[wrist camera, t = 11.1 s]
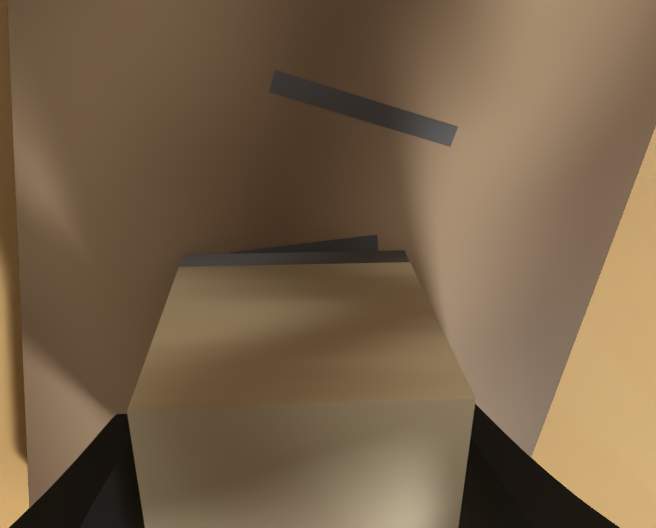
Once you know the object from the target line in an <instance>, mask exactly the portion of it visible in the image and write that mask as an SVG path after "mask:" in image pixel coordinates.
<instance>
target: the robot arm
mask: <svg viewBox="0 0 656 528" xmlns="http://www.w3.org/2000/svg"><path fill="white" fill-rule="evenodd" d="M9 528H145V526H144V519H143V513H142V506H141V500H140V493H139V487H138V480H137V474H136V467H135V461H134V454H133V448H132V441H131V435H130V428H129V422H128V415H127V414H116V415H115V416H114V417H113V418H112V419H111V420H110V421H109V422H108V423H107V425H106V426H105V427H104V428H103V429H102V430H101V431H100V433H99V434H98V435H97V436H96V437H95V438H94V440H93V441H92V442H91V443H90V444H89V445H88V447H87V448H86V449H85V450H84V451H83V452H82V453H81V454H80V456H79V457H78V458H77V459H76V460H75V461H74V462H73V463H72V464H71V466H70V467H69V468H68V469H67V470H66V471H65V472H64V473H63V474H62V475H61V476H60V477H59V479H58V480H57V481H56V482H55V483H54V484H53V485H52V486H51V487H50V488H49V489H48V490H47V491H46V492H45V493H44V494H43V495H42V496H41V497H40V498H39V499H38V500H37V501H36V502H35V503H34V504H33V505H32V506H31V507H30V508H29V509H28V510H27V511H26V512H25V513H24V514H23V515H22V516H21V517H20V518H19V519H18V520H17V521H16V522H15V523H13V524H12V525H11V526H10V527H9ZM458 528H619V527H618V526H617V525H615V524H614V523H612V522H611V521H609V520H608V519H607V518H605V517H604V516H602V515H601V514H600V513H598V512H597V511H595V510H594V509H593V508H591V507H590V506H589V505H587V504H586V503H585V502H583V501H582V500H581V499H579V498H578V497H577V496H575V495H574V494H573V493H572V492H571V491H569V490H568V489H567V488H566V487H565V486H563V485H562V484H561V483H560V482H558V481H557V480H556V479H555V478H554V477H552V476H551V475H550V474H549V473H548V472H547V471H545V470H544V469H543V468H542V467H541V466H540V465H539V464H537V463H536V462H535V461H534V460H533V459H532V458H531V457H530V456H529V455H528V454H527V453H525V452H524V451H523V450H522V449H521V448H520V447H519V446H518V445H517V444H516V443H515V442H514V441H513V440H512V439H511V438H510V437H509V436H508V435H507V434H506V433H505V432H503V431H502V430H501V429H500V428H499V427H498V426H497V425H496V424H495V423H494V422H493V421H492V420H491V419H490V418H489V417H488V416H487V415H486V414H485V413H484V412H483V411H482V410H481V409H480V408H479V407H478V406H477V405H476V404H475V408H474V416H473V423H472V430H471V438H470V445H469V453H468V460H467V467H466V475H465V482H464V489H463V497H462V504H461V511H460V519H459V526H458Z"/></svg>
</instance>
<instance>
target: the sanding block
mask: <svg viewBox="0 0 656 528" xmlns="http://www.w3.org/2000/svg"><path fill="white" fill-rule="evenodd" d="M475 401H476V398H475V396H474V394H473V392H472V389H471V387H470V385H469V383H468V381H467V379H466V377H465V375H464V373H463V371H462V369H461V367H460V365H459V363H458V361H457V358H456V356H455V354H454V352H453V350H452V348H451V346H450V344H449V342H448V340H447V338H446V336H445V334H444V332H443V330H442V327H441V325H440V323H439V321H438V319H437V317H436V315H435V313H434V311H433V309H432V307H431V305H430V303H429V301H428V298H427V296H426V294H425V292H424V290H423V288H422V286H421V284H420V282H419V280H418V278H417V276H416V274H415V272H414V270H413V267H412V265H411V263H410V261H409V259H408V257H407V255H406V253H405V251H404V250H397V251H345V252H292V253H239V254H186V255H183V257H182V259H181V262H180V265H179V268H178V271H177V273H176V276H175V279H174V282H173V285H172V287H171V290H170V293H169V296H168V298H167V301H166V304H165V307H164V310H163V312H162V315H161V318H160V321H159V324H158V326H157V329H156V332H155V335H154V337H153V340H152V343H151V346H150V349H149V351H148V354H147V357H146V360H145V363H144V365H143V368H142V371H141V374H140V376H139V379H138V382H137V385H136V388H135V390H134V393H133V396H132V399H131V401H130V404H129V407H128V410H127V415H128V422H129V428H130V435H131V441H132V448H133V454H134V461H135V467H136V474H137V480H138V487H139V493H140V500H141V506H142V513H143V519H144V526H145V528H458V526H459V519H460V511H461V504H462V497H463V489H464V482H465V475H466V467H467V460H468V453H469V445H470V438H471V430H472V423H473V416H474V408H475Z"/></svg>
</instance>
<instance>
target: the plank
mask: <svg viewBox="0 0 656 528" xmlns="http://www.w3.org/2000/svg"><path fill="white" fill-rule="evenodd" d="M7 10H8V33H9V56H10V79H11V101H12V124H13V147H14V169H15V192H16V215H17V237H18V260H19V283H20V305H21V328H22V351H23V373H24V396H25V419H26V441H27V464H28V487H29V508H30V507H31V506H32V505H33V504H34V503H35V502H36V501H37V500H38V499H39V498H40V497H41V496H42V495H43V494H44V493H45V492H46V491H47V490H48V489H49V488H50V487H51V486H52V485H53V484H54V483H55V482H56V481H57V480H58V479H59V477H60V476H61V475H62V474H63V473H64V472H65V471H66V470H67V469H68V468H69V467H70V466H71V464H72V463H73V462H74V461H75V460H76V459H77V458H78V457H79V456H80V454H81V453H82V452H83V451H84V450H85V449H86V448H87V447H88V445H89V444H90V443H91V442H92V441H93V440H94V438H95V437H96V436H97V435H98V434H99V433H100V431H101V430H102V429H103V428H104V427H105V426H106V425H107V423H108V422H109V421H110V420H111V419H112V418H113V417H114V416H115V415H116V414H127V410H128V407H129V404H130V401H131V399H132V396H133V393H134V390H135V388H136V385H137V382H138V379H139V376H140V374H141V371H142V368H143V365H144V363H145V360H146V357H147V354H148V351H149V349H150V346H151V343H152V340H153V337H154V335H155V332H156V329H157V326H158V324H159V321H160V318H161V315H162V312H163V310H164V307H165V304H166V301H167V298H168V296H169V293H170V290H171V287H172V285H173V282H174V279H175V276H176V273H177V271H178V268H179V265H180V262H181V259H182V257H183V255H186V254H239V253H292V252H345V251H397V250H404V251H405V253H406V255H407V257H408V259H409V261H410V263H411V265H412V267H413V270H414V272H415V274H416V276H417V278H418V280H419V282H420V284H421V286H422V288H423V290H424V292H425V294H426V296H427V298H428V301H429V303H430V305H431V307H432V309H433V311H434V313H435V315H436V317H437V319H438V321H439V323H440V325H441V327H442V330H443V332H444V334H445V336H446V338H447V340H448V342H449V344H450V346H451V348H452V350H453V352H454V354H455V356H456V358H457V361H458V363H459V365H460V367H461V369H462V371H463V373H464V375H465V377H466V379H467V381H468V383H469V385H470V387H471V389H472V392H473V394H474V396H475V398H476V401H475V404H476V405H477V406H478V407H479V408H480V409H481V410H482V411H483V412H484V413H485V414H486V415H487V416H488V417H489V418H490V419H491V420H492V421H493V422H494V423H495V424H496V425H497V426H498V427H499V428H500V429H501V430H502V431H503V432H505V433H506V434H507V435H508V436H509V437H510V438H511V439H512V440H513V441H514V442H515V443H516V444H517V445H518V446H519V447H520V448H521V449H522V450H523V451H524V452H525V453H527V454H528V455H529V456H530V457H531V456H532V454H533V451H534V448H535V446H536V443H537V440H538V438H539V435H540V432H541V430H542V427H543V424H544V422H545V419H546V416H547V414H548V411H549V408H550V406H551V403H552V400H553V398H554V395H555V392H556V390H557V387H558V384H559V382H560V379H561V376H562V374H563V371H564V368H565V366H566V363H567V360H568V358H569V355H570V353H571V350H572V347H573V345H574V342H575V339H576V337H577V334H578V331H579V329H580V326H581V323H582V321H583V318H584V315H585V313H586V310H587V307H588V305H589V302H590V299H591V297H592V294H593V291H594V289H595V286H596V283H597V281H598V278H599V275H600V273H601V270H602V267H603V265H604V262H605V259H606V257H607V254H608V251H609V249H610V246H611V243H612V241H613V238H614V235H615V233H616V230H617V227H618V225H619V222H620V219H621V217H622V214H623V211H624V209H625V206H626V204H627V201H628V198H629V196H630V193H631V190H632V188H633V185H634V182H635V180H636V177H637V174H638V172H639V169H640V166H641V164H642V161H643V158H644V156H645V153H646V150H647V148H648V145H649V142H650V140H651V137H652V134H653V132H654V129H655V126H656V0H7Z"/></svg>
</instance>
